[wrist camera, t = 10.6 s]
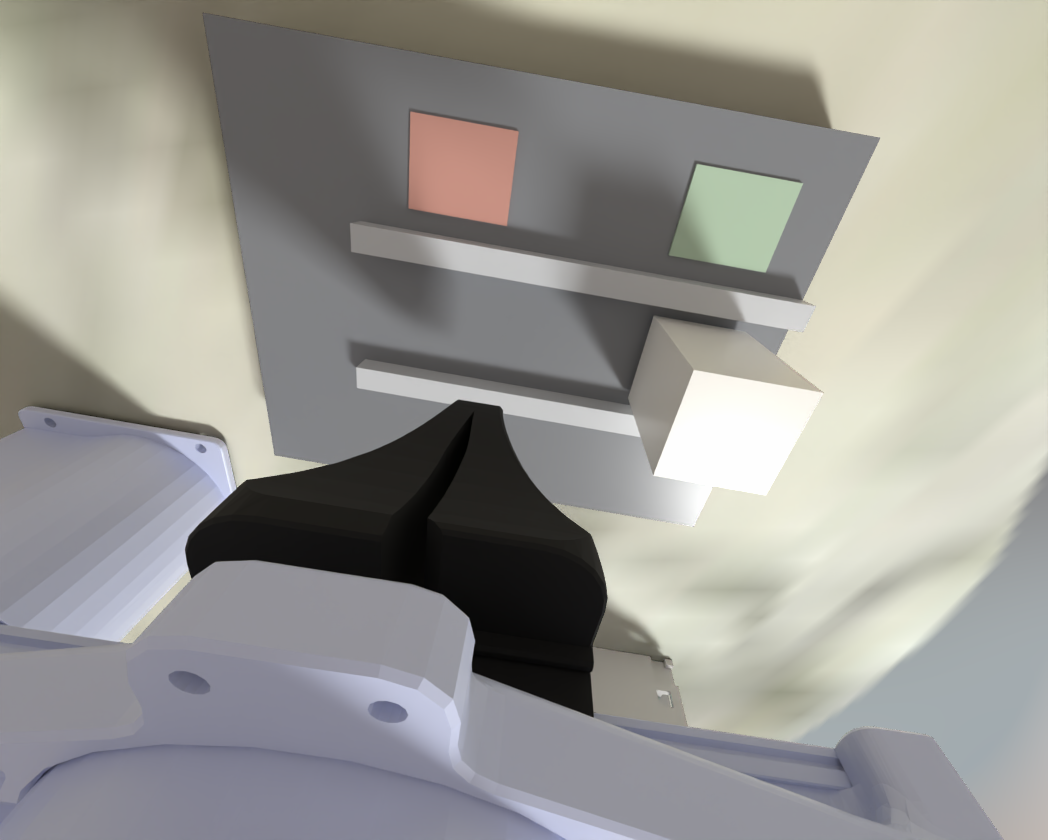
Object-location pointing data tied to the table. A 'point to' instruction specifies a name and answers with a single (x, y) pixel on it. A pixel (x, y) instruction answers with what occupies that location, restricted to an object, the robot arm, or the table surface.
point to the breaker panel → (503, 246)
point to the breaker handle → (717, 406)
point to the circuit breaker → (635, 687)
